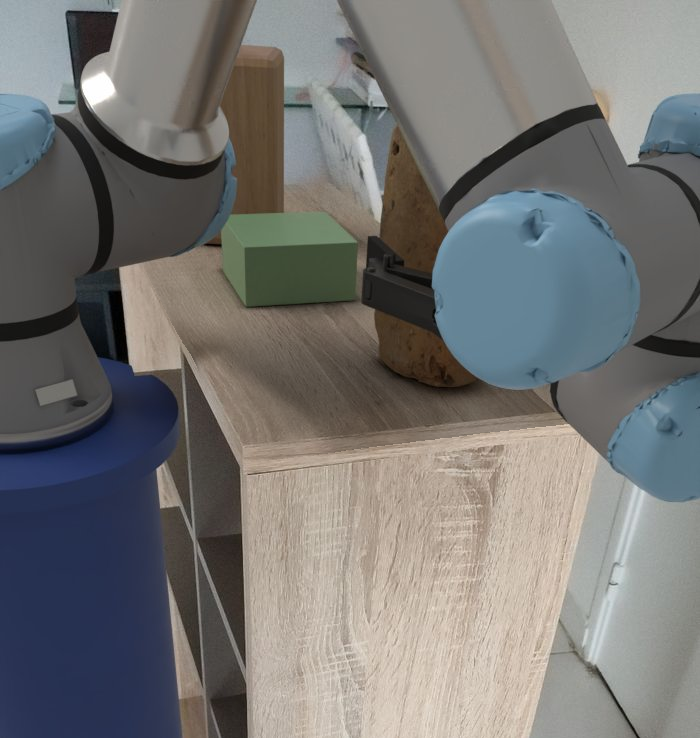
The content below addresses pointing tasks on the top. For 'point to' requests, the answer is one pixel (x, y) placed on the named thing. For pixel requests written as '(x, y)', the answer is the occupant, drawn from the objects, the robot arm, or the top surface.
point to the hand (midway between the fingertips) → (447, 249)
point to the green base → (289, 258)
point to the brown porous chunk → (419, 250)
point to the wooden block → (256, 130)
